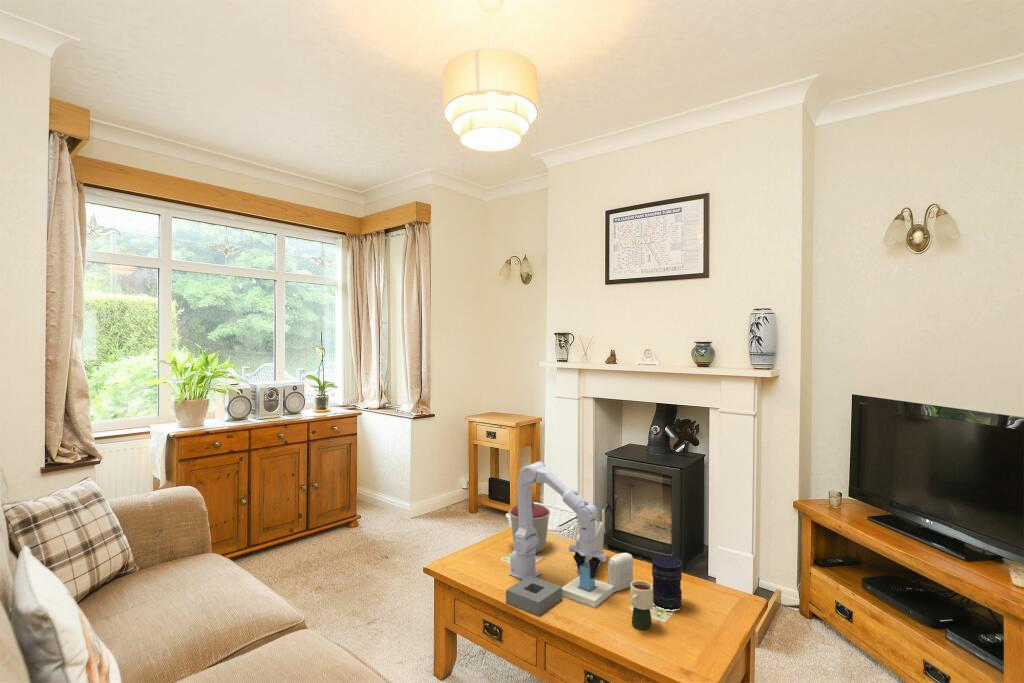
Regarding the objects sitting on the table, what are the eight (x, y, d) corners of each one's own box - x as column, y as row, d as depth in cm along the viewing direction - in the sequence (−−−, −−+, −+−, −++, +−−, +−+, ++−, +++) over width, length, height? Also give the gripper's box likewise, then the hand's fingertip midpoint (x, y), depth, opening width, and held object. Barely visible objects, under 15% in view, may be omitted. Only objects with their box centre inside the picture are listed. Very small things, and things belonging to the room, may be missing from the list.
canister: (537, 561, 214) (537, 510, 214) (500, 551, 224) (500, 502, 223) (557, 546, 229) (557, 499, 229) (522, 538, 239) (523, 492, 239)
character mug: (640, 615, 172) (640, 576, 172) (660, 623, 167) (660, 583, 167) (622, 628, 165) (622, 587, 164) (642, 637, 160) (642, 595, 159)
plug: (579, 588, 186) (579, 565, 186) (586, 583, 190) (586, 561, 190) (589, 591, 183) (589, 568, 183) (595, 586, 187) (595, 564, 187)
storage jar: (650, 608, 177) (650, 564, 177) (653, 595, 186) (653, 553, 186) (680, 614, 173) (680, 569, 173) (682, 600, 182) (682, 557, 182)
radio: (585, 554, 221) (585, 495, 220) (604, 557, 218) (604, 498, 217) (571, 576, 200) (572, 511, 200) (593, 580, 197) (593, 514, 197)
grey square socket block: (505, 602, 180) (505, 589, 180) (529, 587, 191) (529, 575, 191) (538, 616, 172) (538, 602, 171) (561, 599, 182) (561, 586, 182)
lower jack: (560, 595, 185) (560, 588, 185) (580, 581, 196) (580, 574, 196) (594, 608, 177) (594, 601, 176) (614, 592, 187) (614, 585, 187)
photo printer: (626, 581, 196) (626, 549, 196) (634, 586, 192) (634, 552, 192) (606, 588, 190) (606, 555, 190) (614, 593, 187) (614, 559, 187)
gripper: (564, 536, 188) (564, 574, 188) (599, 546, 179) (599, 586, 179) (574, 531, 193) (574, 567, 193) (609, 540, 184) (609, 578, 184)
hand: (587, 575), depth 186 cm, fingers closed on plug, 4 cm apart
